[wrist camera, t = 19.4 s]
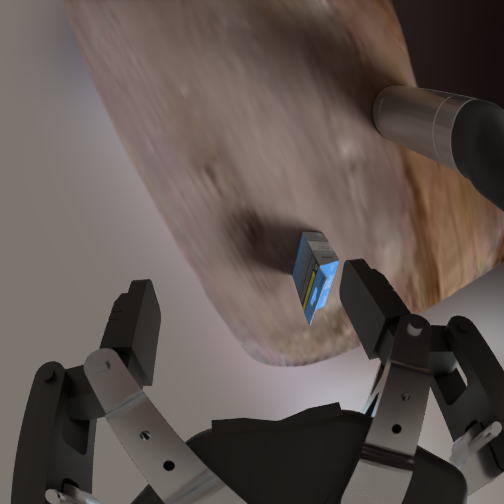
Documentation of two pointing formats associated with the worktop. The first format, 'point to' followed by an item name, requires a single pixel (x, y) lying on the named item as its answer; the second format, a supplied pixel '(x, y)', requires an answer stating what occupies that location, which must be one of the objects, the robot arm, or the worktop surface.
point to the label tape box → (314, 271)
